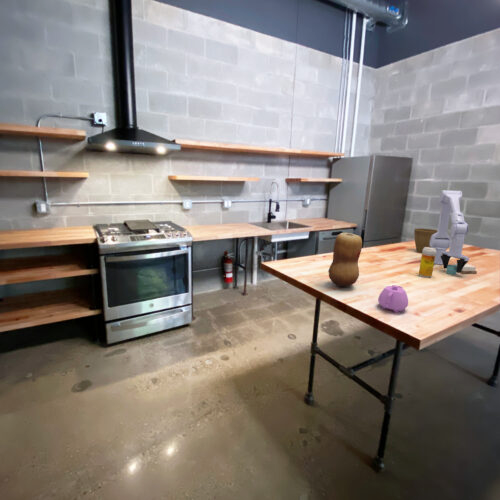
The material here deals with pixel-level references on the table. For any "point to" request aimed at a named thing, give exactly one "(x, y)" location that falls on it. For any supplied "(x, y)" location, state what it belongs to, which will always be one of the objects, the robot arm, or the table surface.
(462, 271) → the walnut slab
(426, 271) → the glass of beer
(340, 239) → the butternut squash
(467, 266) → the off-white slab
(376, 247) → the table surface
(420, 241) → the plant pot
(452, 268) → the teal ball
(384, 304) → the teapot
